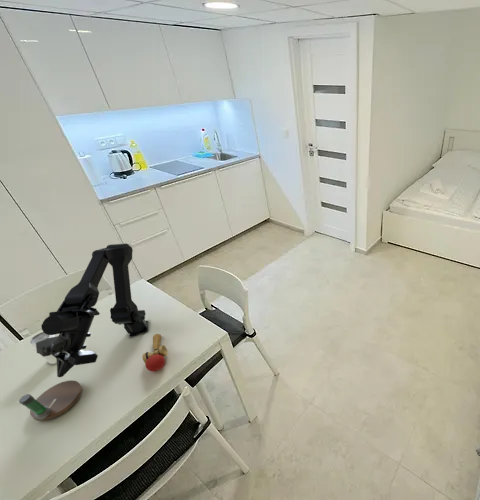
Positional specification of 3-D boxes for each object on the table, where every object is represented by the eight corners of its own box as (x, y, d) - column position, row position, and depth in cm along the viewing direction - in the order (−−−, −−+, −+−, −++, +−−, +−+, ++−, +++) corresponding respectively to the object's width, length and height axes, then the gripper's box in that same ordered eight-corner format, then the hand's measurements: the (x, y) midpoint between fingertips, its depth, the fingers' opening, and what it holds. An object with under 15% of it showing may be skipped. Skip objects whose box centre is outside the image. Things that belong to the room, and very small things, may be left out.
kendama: (146, 346, 117) (143, 378, 103) (143, 334, 115) (139, 365, 100) (168, 341, 121) (168, 371, 107) (166, 329, 118) (165, 358, 104)
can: (57, 365, 109) (37, 346, 102) (44, 362, 110) (23, 343, 103) (74, 351, 114) (56, 331, 107) (61, 348, 115) (42, 329, 108)
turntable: (51, 385, 102) (30, 366, 95) (90, 380, 103) (72, 361, 96) (21, 424, 91) (-4, 406, 84) (66, 418, 92) (44, 400, 86)
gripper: (29, 321, 90) (9, 371, 88) (65, 340, 84) (44, 394, 82) (72, 320, 100) (54, 365, 98) (106, 336, 94) (88, 384, 92)
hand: (59, 376), depth 92 cm, fingers closed
